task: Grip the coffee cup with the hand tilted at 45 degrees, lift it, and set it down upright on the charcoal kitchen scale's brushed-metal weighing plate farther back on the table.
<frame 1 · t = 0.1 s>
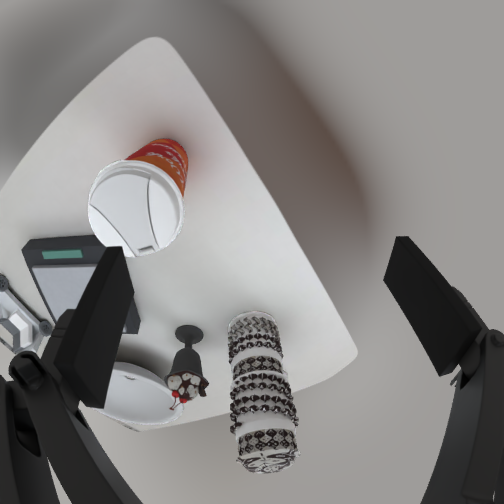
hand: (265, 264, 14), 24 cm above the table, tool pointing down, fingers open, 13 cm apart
coffee cup: (164, 161, 34), on the table
toy car: (11, 305, 44), on the table
scale: (84, 282, 42), on the table
decorative candle: (252, 327, 50), on the table
white bowl: (130, 375, 57), on the table
sundae: (189, 333, 50), on the table
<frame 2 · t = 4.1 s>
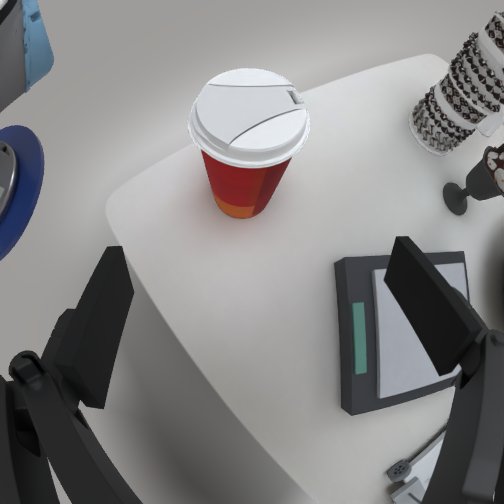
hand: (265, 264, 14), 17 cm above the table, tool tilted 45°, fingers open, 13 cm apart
pepper shaker: (481, 125, 39), on the table
coffee cup: (241, 193, 32), on the table
toy car: (432, 463, 27), on the table
scale: (405, 327, 30), on the table
decorative candle: (430, 132, 37), on the table
sundae: (454, 199, 35), on the table
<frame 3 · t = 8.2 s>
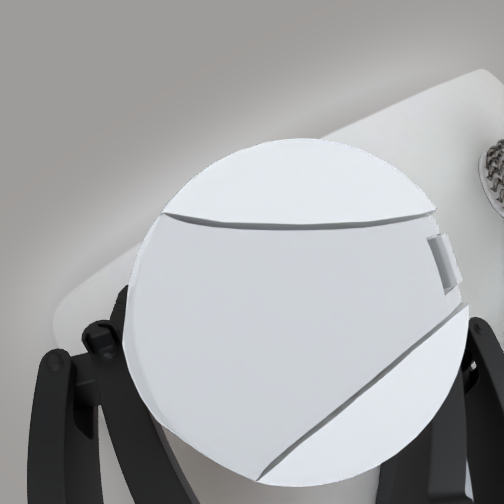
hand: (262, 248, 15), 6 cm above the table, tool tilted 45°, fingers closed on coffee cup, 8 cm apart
coffee cup: (255, 315, 20), on the table, touching gripper
scale: (453, 454, 18), on the table
decorative candle: (500, 185, 24), on the table
when the fingers open (9 cm above the table, at t = 16.8 s): coffee cup stays where it is, resting on scale.
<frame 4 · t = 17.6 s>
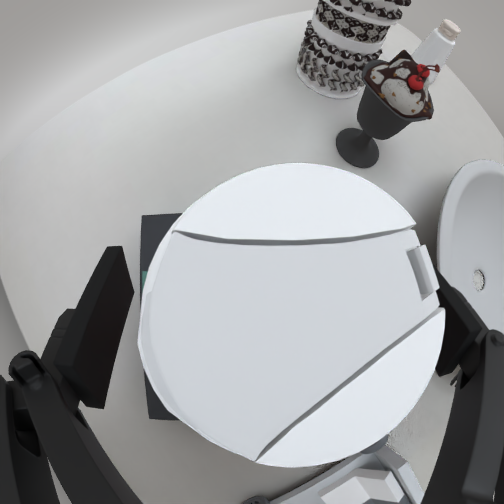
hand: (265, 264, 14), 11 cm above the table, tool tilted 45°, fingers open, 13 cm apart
pepper shaker: (419, 72, 33), on the table
coffee cup: (255, 316, 21), point 4 cm above the table, touching scale
scale: (251, 315, 24), on the table
decorative candle: (329, 75, 31), on the table
white bowl: (476, 280, 27), on the table
sundae: (357, 148, 29), on the table
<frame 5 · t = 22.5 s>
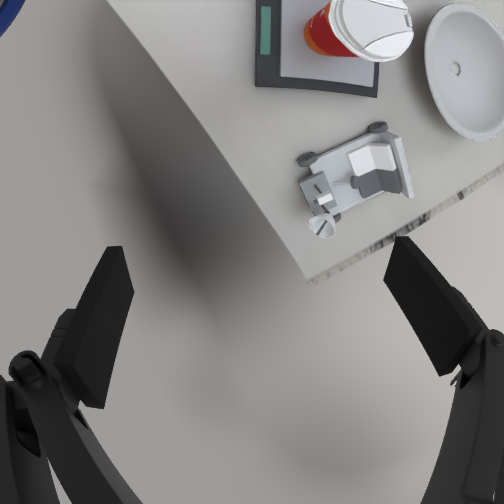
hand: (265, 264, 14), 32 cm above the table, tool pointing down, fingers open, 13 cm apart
coffee cup: (324, 35, 30), point 4 cm above the table, touching scale
toy car: (344, 172, 45), on the table
scale: (316, 38, 33), on the table
white bowl: (454, 68, 34), on the table
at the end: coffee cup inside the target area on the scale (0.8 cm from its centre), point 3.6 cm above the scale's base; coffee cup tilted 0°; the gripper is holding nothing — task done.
